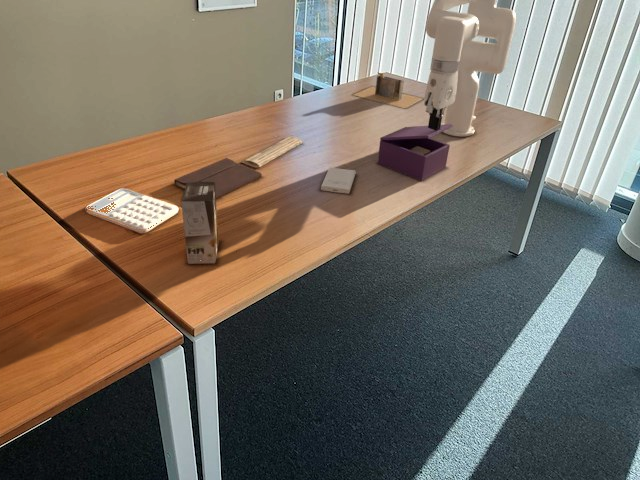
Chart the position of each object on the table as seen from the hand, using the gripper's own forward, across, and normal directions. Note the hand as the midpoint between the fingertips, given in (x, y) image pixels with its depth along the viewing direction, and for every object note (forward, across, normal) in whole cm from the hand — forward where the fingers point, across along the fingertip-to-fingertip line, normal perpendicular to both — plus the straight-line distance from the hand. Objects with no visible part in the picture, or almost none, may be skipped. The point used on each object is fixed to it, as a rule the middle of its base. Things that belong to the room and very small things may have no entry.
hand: (433, 128), depth 156 cm
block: (+13, 0, +4) cm, 14 cm away
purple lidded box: (+14, 0, +6) cm, 15 cm away
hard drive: (+14, -26, +14) cm, 33 cm away
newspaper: (+14, -26, +42) cm, 51 cm away
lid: (+3, 0, +6) cm, 7 cm away
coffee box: (+15, -76, +12) cm, 78 cm away
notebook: (+14, -51, +38) cm, 65 cm away
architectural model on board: (+14, +50, +52) cm, 74 cm away
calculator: (+15, -78, +39) cm, 88 cm away
